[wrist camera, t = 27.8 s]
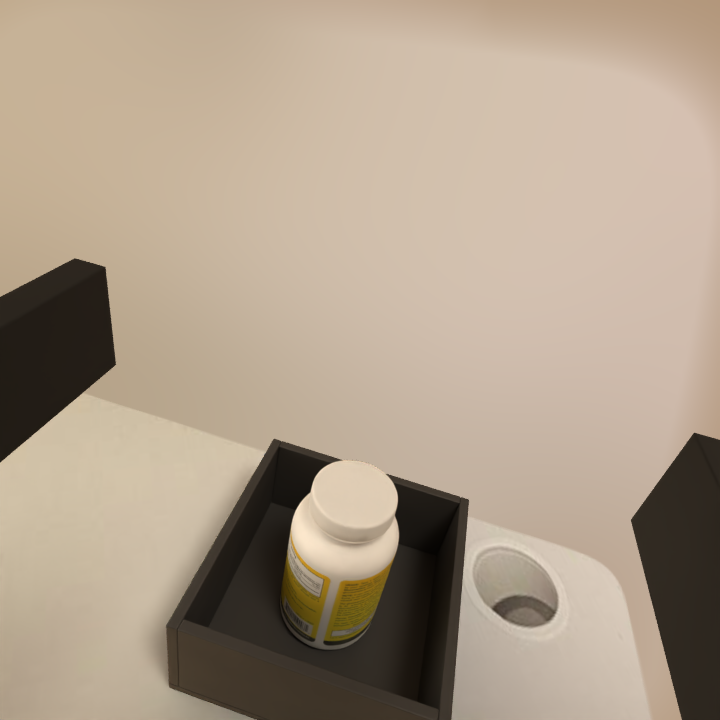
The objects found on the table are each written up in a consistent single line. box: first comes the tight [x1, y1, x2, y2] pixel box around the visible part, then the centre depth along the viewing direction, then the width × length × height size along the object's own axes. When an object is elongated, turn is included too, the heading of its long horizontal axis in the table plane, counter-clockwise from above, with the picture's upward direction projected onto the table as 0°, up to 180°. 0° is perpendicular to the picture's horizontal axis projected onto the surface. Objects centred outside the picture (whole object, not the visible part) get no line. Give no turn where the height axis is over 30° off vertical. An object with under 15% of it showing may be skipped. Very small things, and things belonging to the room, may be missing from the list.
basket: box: [166, 439, 469, 720], centre depth 32 cm, size 14×14×6 cm
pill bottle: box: [280, 460, 399, 650], centre depth 31 cm, size 6×6×11 cm
